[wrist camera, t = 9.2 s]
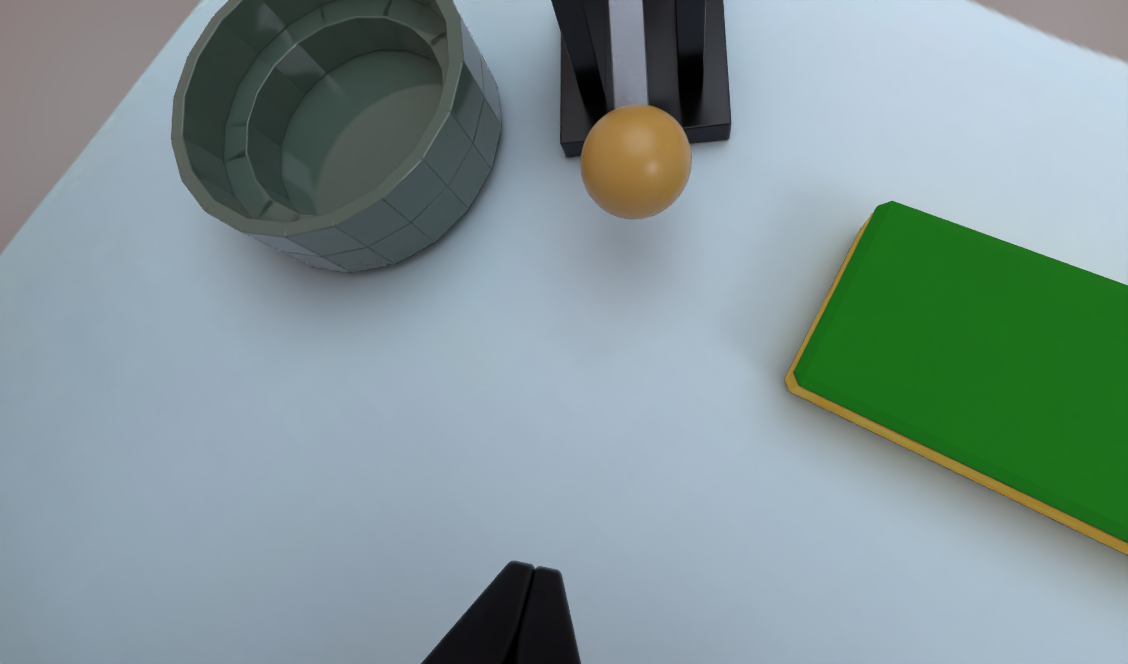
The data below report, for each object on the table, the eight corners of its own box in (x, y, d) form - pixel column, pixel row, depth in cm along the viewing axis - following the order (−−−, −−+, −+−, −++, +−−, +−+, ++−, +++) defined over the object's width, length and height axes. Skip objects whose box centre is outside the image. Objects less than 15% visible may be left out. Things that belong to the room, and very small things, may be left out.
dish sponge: (1225, 603, 17) (1311, 627, 14) (779, 387, 21) (790, 379, 18) (1312, 393, 17) (1409, 384, 15) (862, 223, 21) (883, 195, 19)
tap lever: (692, 217, 20) (695, 210, 16) (593, 225, 21) (575, 221, 17) (678, -129, 18) (677, -217, 15) (571, -106, 19) (546, -185, 16)
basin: (549, 188, 24) (515, 124, 20) (300, 324, 26) (211, 294, 21) (445, -17, 28) (395, -113, 23) (232, 111, 30) (144, 45, 25)
